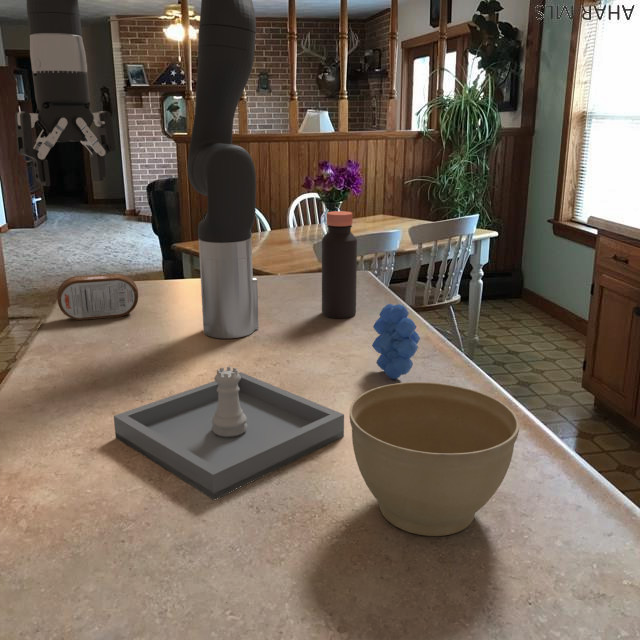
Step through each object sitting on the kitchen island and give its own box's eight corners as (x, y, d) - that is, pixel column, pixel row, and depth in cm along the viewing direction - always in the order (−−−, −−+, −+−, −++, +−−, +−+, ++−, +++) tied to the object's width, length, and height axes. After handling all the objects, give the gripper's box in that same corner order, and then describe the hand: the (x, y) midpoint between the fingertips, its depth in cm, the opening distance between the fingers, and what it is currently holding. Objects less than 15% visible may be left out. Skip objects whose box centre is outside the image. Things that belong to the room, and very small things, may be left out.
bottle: (362, 312, 135) (364, 212, 129) (344, 321, 130) (346, 216, 124) (333, 307, 139) (333, 209, 133) (315, 315, 133) (314, 213, 127)
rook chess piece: (241, 440, 81) (239, 378, 79) (206, 437, 82) (203, 375, 80) (252, 424, 86) (250, 365, 83) (218, 421, 86) (216, 362, 84)
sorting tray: (241, 391, 97) (240, 372, 97) (343, 436, 84) (344, 414, 83) (115, 437, 84) (113, 415, 83) (214, 500, 70) (213, 474, 70)
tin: (139, 311, 136) (136, 270, 133) (140, 316, 133) (137, 274, 131) (59, 318, 131) (54, 276, 129) (59, 323, 129) (54, 280, 126)
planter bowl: (477, 583, 58) (486, 471, 55) (318, 525, 66) (318, 424, 63) (529, 496, 71) (539, 401, 68) (391, 456, 79) (394, 370, 76)
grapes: (437, 389, 98) (441, 310, 95) (395, 395, 96) (397, 314, 93) (401, 361, 109) (404, 289, 105) (363, 367, 107) (364, 293, 103)
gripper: (92, 72, 105) (102, 178, 110) (-1, 68, 96) (14, 185, 101) (117, 70, 100) (127, 181, 105) (21, 66, 91) (37, 189, 96)
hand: (72, 183), depth 103 cm, fingers open, 8 cm apart
